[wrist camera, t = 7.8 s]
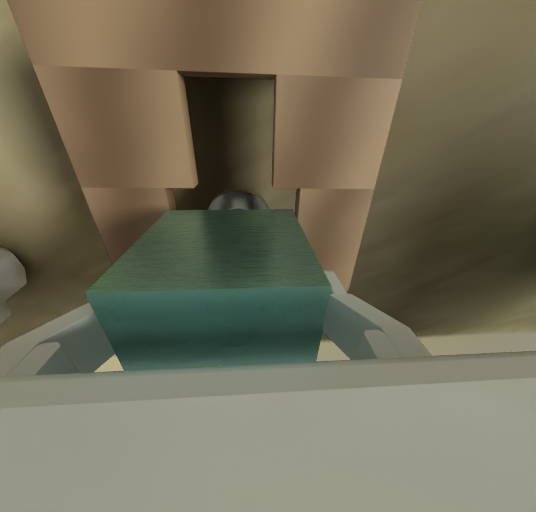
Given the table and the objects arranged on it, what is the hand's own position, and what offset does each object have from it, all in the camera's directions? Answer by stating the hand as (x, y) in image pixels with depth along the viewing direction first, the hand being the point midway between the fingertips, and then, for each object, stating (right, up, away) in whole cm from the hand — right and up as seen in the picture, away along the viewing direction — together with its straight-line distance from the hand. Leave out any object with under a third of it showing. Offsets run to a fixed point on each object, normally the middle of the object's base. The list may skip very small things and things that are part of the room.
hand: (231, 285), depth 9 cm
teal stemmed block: (-1, +4, +7) cm, 8 cm away
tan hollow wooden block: (-1, +8, +8) cm, 12 cm away
